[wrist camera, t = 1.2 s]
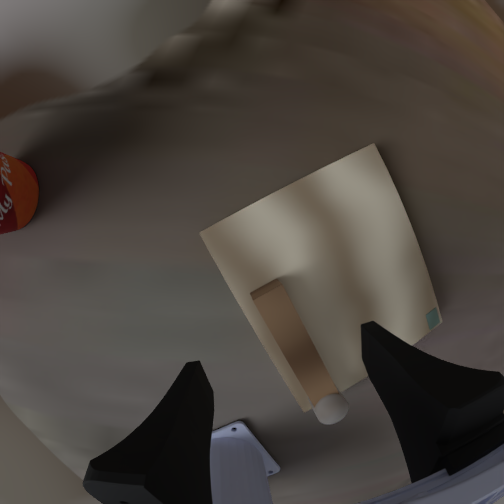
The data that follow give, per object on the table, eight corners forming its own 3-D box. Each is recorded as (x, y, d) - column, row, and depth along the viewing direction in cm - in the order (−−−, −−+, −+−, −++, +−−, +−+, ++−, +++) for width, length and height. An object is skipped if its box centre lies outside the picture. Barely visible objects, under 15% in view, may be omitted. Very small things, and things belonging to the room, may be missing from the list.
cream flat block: (298, 400, 24) (304, 413, 22) (201, 231, 22) (199, 232, 20) (429, 315, 24) (443, 322, 22) (362, 148, 22) (374, 142, 20)
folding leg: (341, 396, 22) (353, 413, 19) (314, 410, 22) (324, 429, 19) (279, 276, 20) (287, 284, 18) (247, 294, 20) (250, 304, 18)
